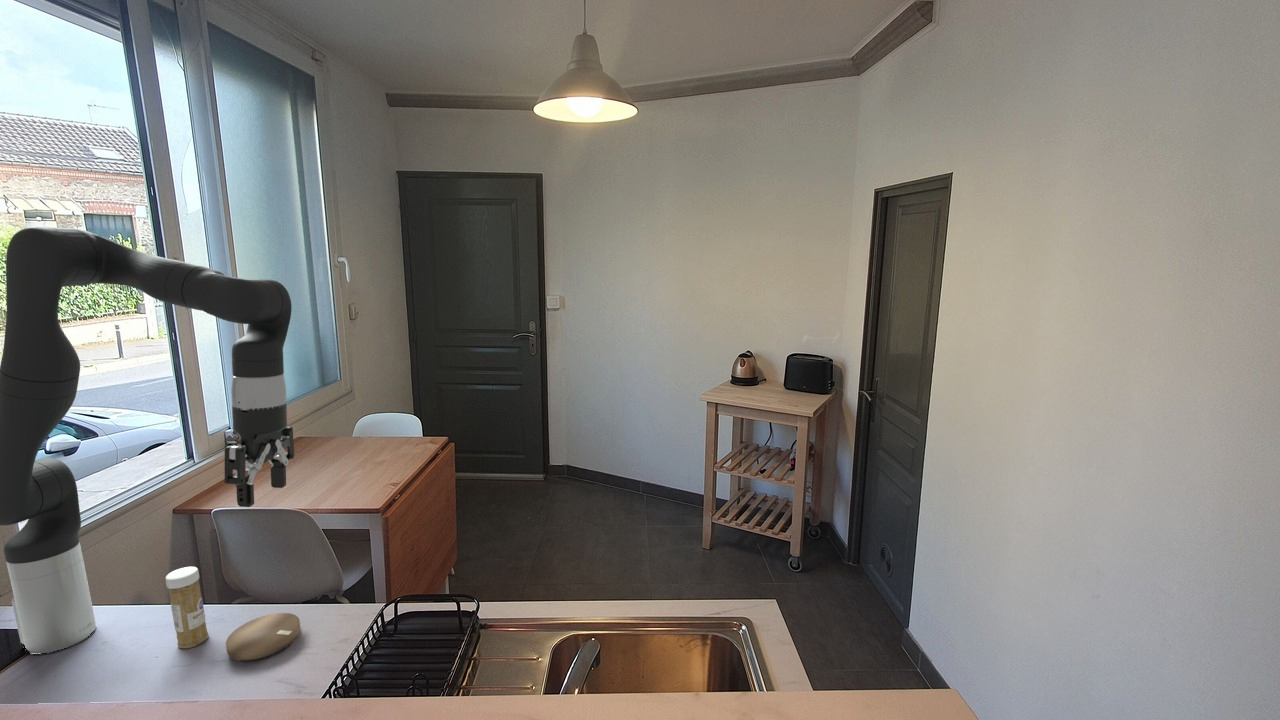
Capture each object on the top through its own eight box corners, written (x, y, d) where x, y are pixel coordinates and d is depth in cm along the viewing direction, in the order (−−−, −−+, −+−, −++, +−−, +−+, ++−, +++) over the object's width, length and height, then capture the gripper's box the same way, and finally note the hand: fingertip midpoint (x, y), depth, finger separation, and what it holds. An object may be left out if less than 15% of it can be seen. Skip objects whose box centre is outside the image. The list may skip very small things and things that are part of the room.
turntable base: (221, 660, 99) (220, 654, 99) (262, 627, 108) (261, 622, 108) (269, 663, 98) (268, 658, 98) (306, 630, 107) (305, 625, 107)
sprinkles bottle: (208, 643, 104) (196, 573, 102) (175, 653, 102) (163, 581, 99) (209, 630, 108) (198, 562, 106) (178, 639, 105) (166, 570, 103)
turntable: (210, 657, 98) (209, 649, 98) (260, 618, 109) (259, 610, 109) (269, 662, 97) (268, 653, 97) (314, 622, 108) (313, 614, 107)
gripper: (264, 392, 103) (267, 480, 105) (204, 409, 89) (209, 511, 91) (307, 394, 103) (309, 482, 105) (254, 412, 89) (257, 514, 91)
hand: (263, 496), depth 98 cm, fingers open, 8 cm apart
